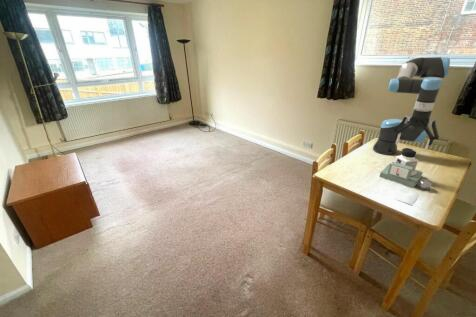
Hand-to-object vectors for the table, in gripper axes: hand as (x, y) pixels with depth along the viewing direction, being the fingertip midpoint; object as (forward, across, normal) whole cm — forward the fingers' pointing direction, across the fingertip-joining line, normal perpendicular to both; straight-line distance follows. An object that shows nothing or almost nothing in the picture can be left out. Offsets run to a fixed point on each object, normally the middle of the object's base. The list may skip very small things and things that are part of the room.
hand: (410, 146), depth 126 cm
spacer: (+18, +12, -8) cm, 23 cm away
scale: (+18, 0, -3) cm, 19 cm away
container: (+15, 0, -1) cm, 15 cm away
